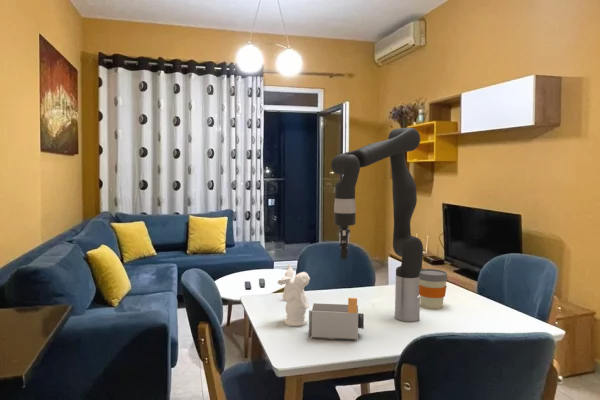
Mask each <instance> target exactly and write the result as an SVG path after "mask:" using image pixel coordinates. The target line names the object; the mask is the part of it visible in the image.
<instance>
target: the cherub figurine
mask: <svg viewBox="0 0 600 400" xmlns="http://www.w3.org/2000/svg"><path fill="white" fill-rule="evenodd" d="M310 280H311V277H310V276H309V274H308V273H307V272H306V271H302V272H299V273H296V275H295V276H294V269H293V268H292V266H291V265H290V264H289V263H288V264H287V267H286V271H285V273H284V276H283V277H282V278H280V279H278V281H277V284H278V285H280V286H283V285H285V286H284V287H283V293H282V300H283V301H284V302H285V312H286V315H285V316H286V318H285V319H284V324H285V325H286V326H288V327H302V326H304V325H305V326H306V325H307V323H308V320H307V319H306V315H305V314H306V311H307V309H308V308H309V307H310V305H309V302H308V298H307V294H306V292H305V287H306V286H307V287H308V285H309V283H310Z"/></svg>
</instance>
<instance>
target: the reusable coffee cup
mask: <svg viewBox="0 0 600 400" xmlns="http://www.w3.org/2000/svg"><path fill="white" fill-rule="evenodd" d="M447 281H448V272H447V271H445V270H442V269H436V268H435V269H434V268H422V269H421V271H420V278H419V296H420V307H422V308H425V309H428V310H429V309H430V310H439V309H442V308H443V303H444V297H446V291H447Z"/></svg>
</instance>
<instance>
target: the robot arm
mask: <svg viewBox="0 0 600 400" xmlns="http://www.w3.org/2000/svg"><path fill="white" fill-rule="evenodd" d="M387 137H388V138H387V139H386V140H381V141H376V142H373V143H368V144H366V145H364V146H362V147H359V148H357V149H355V150H350V151H347V152H343V153H340V154H337V155H336V156H334V157H333V158H332V160H331V163H330V167H331V170H332V171H333V173H334V174H336V175H341V176H342V178H341V180H340V181H338V182H336V184H335V187H334V197H335V198H334V206H333V207H334V208H333V222H334V223H333V224H334V225H335V226H340V228H339V229H338V236H339V237H338V239H339V241H338V242H339V243H340V245H339V247H340V259H341V260H347V259H348V253H349V251H348V250H349V249H348V248H349V243H350V238H351V237H350V236H351V229H349V228H350V227H351V226H354V225H356V211H357V210H356V209H357V206H356V204H357V203H356V186H357V183H358V179H359V175H360V170H361V168H366V167H368V166H371V165H374V164H375V163H377V162H379V161H382V160H384V159H388V158H389V160H390V167H391V168H390V169H391V179H392V181H391V182H392V184H391V187H392V188H391V189H392V204H393V209H392V210H393V230H392V231H393V234H392V235H393V236H392V249H393V251H394V253H395V254H396V255H397V256H399V257H401V264H400V266H398V267H396V269H395V285H394V287H395V288H394V289H395V292H394V293H395V294H394V297H395V299H394V318H395V319H396V320H398V321H401V322H416V321H420V316H421V315H420V311H421V309H420V308H421V301H420V295H419V278H420V271H421V269H423V259H424V258H423V257H424V244H423V242H422V241H421V239H420V238H419V237H417V236H413V235H412V232H411V220H412V218H413V214H414V211H415V209H416V206H417V202H418V201H417V200H418V199H417V197H418V195H417V184H416V181H415V179H414V177H413V176H412V174H411V173H410V172H411V171H410V170H409V168H408V167H407V163H406V156H405V154H406V153H408V152H412V151H414V150H416V149H417V148H418V147H419V146H420V143H421V135H420V133H419V131H418V130H417V129H416V128H413V127H400V128H395V129H392V130H391V131H390V132H389V134H388V136H387ZM349 226H350V227H349Z"/></svg>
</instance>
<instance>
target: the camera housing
mask: <svg viewBox="0 0 600 400" xmlns="http://www.w3.org/2000/svg"><path fill="white" fill-rule="evenodd" d="M311 311H335V312H348V304H340V303H313V304H312V309H311ZM357 312H358V330H359V329H360V330H361V329H362V330H363V329H364V327H365V326H364V324H365V322H364V317H365V315H364V313H359V305H358V304H357ZM311 339H322V340H323V339H326V340H346V341H347V340H348V341H358V340H359V338H358V339H347V338H326V337H311Z"/></svg>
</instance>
